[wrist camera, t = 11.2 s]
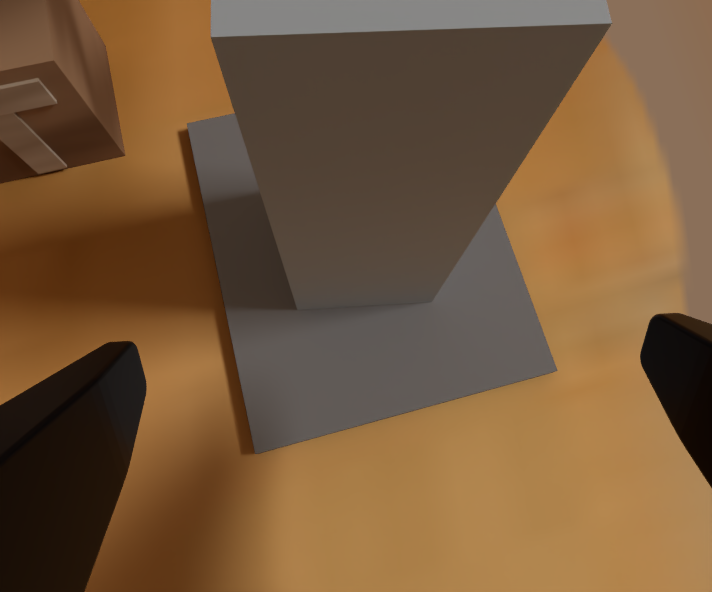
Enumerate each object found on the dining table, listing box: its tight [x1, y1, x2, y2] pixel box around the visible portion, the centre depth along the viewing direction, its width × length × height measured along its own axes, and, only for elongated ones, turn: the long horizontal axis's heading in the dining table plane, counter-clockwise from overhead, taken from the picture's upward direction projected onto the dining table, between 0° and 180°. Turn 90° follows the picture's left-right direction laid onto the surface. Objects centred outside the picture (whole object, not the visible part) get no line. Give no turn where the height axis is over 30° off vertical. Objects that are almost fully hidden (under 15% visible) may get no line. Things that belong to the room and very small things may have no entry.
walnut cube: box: [0, 0, 125, 183], centre depth 17 cm, size 5×5×5 cm
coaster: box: [187, 114, 557, 454], centre depth 18 cm, size 12×10×1 cm
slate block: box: [211, 0, 612, 310], centre depth 12 cm, size 4×4×12 cm
